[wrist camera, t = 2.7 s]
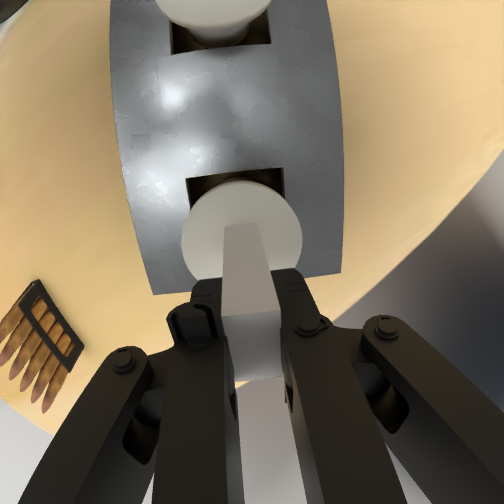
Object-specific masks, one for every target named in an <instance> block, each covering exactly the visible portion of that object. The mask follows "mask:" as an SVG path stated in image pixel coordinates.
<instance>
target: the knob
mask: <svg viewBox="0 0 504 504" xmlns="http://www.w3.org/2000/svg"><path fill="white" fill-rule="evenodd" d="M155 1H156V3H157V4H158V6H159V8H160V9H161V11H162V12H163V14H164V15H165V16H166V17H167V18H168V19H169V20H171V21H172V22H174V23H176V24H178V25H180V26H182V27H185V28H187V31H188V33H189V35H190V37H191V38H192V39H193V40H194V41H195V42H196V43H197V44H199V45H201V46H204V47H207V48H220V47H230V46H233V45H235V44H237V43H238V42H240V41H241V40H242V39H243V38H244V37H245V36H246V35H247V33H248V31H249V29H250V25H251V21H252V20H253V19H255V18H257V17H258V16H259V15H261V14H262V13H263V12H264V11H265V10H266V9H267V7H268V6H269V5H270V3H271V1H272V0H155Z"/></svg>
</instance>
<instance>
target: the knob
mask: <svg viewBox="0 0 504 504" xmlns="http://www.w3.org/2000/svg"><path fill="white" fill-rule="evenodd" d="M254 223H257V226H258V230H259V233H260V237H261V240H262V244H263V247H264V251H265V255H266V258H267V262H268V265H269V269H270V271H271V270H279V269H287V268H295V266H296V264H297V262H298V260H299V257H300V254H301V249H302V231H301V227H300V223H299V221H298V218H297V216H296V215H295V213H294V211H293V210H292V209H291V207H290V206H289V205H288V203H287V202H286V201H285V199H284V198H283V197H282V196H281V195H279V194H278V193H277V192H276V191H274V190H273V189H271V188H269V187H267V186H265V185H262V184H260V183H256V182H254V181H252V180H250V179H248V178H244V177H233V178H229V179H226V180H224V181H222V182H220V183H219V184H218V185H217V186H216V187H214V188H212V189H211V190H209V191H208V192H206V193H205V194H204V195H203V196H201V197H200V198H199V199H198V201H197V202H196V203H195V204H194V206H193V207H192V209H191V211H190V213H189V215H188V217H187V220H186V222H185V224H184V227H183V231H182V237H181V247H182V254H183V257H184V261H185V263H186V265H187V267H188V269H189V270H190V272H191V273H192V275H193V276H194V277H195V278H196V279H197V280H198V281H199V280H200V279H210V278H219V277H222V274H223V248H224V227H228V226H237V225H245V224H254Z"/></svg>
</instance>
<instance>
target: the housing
mask: <svg viewBox="0 0 504 504" xmlns="http://www.w3.org/2000/svg"><path fill="white" fill-rule="evenodd" d="M265 18H266V26H267V33H268V42H269V44H260V45H242V46H230V47H220V48H212V49H205V50H198V51H192V52H186V53H180V54H175V55H174V50H173V34H172V21H171V20H169V19H168V18H167V17H166V16H165V15H164V14H163V12H162V11H161V9H160V8H159V6H158V4H157V3H156V1H155V0H111V6H110V70H111V86H112V98H113V109H114V118H115V126H116V134H117V141H118V148H119V155H120V161H121V167H122V172H123V178H124V183H125V188H126V193H127V198H128V203H129V207H130V212H131V216H132V220H133V224H134V229H135V233H136V237H137V241H138V244H139V248H140V252H141V255H142V259H143V263H144V266H145V270H146V273H147V276H148V280H149V283H150V286H151V289H152V292H153V295H159V294H170V293H180V292H191V291H192V288H193V286H194V285H195V284H196V283H197V282H198V280H197V279H196V278H195V277H194V276H193V275H192V273H191V272H190V270H189V269H188V267H187V265H186V263H185V261H184V257H183V254H182V247H181V237H182V231H183V227H184V224H185V222H186V220H187V217H188V215H189V213H190V211H191V209H192V202H191V196H190V189H189V183H188V178H191V177H198V176H205V175H212V174H220V173H228V172H237V171H246V170H256V169H267V168H279V167H280V168H281V183H282V197H283V198H284V199H285V201H286V202H287V203H288V205H289V206H290V207H291V209H292V210H293V211H294V213H295V215H296V216H297V218H298V221H299V223H300V227H301V231H302V249H301V254H300V257H299V260H298V262H297V264H296V266H295V268H294V269H296V270H297V271H298V272H300V273H301V274H302V275H303V278H309V277H316V276H323V275H330V274H337V273H341V262H342V245H343V219H344V156H343V131H342V115H341V101H340V90H339V80H338V71H337V63H336V55H335V48H334V41H333V35H332V28H331V23H330V17H329V12H328V7H327V2H326V0H272V1H271V3H270V5H269V6H268V7H267V9H266V10H265Z"/></svg>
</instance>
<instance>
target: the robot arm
mask: <svg viewBox="0 0 504 504" xmlns="http://www.w3.org/2000/svg"><path fill="white" fill-rule="evenodd" d="M26 1H27V0H0V23H1V22H3V21H4V20H6V19H7V18H8V17H9V16H11V15H12V14H13V13H14V12H15V11H17V10H18V9H19V8H20V7H21V6H22V5H23V4H24V3H25V2H26ZM166 320H167V323H168V326H169V329H170V332H171V335H172V338H173V340H174V346H173V347H171V348H169V349H167V350H165V351H162V352H159V353H155V354H152V355H148V356H147V355H146V353H145V352H144V351H143V350H142V349H140V348H138V347H135V346H126V347H122V348H118V349H117V350H115V351H113V352H111V353H110V354H109V355H108V356H107V357H106V358H105V360H104V361H103V363H102V364H101V366H100V367H99V368H98V370H97V371H96V373H95V374H94V376H93V377H92V379H91V380H90V382H89V383H88V385H87V386H86V388H85V389H84V391H83V392H82V394H81V395H80V397H79V398H78V400H77V401H76V403H75V404H74V406H73V407H72V409H71V411H70V412H69V414H68V415H67V417H66V419H65V420H64V422H63V423H62V425H61V427H60V428H59V430H58V431H57V433H56V435H55V436H54V438H53V440H52V441H51V443H50V445H49V447H48V448H47V450H46V452H45V453H44V455H43V457H42V459H41V460H40V462H39V464H38V466H37V468H36V469H35V471H34V473H33V475H32V477H31V479H30V481H29V483H28V485H27V486H26V488H25V490H24V492H23V494H22V496H21V498H20V500H19V502H18V504H142V502H143V499H144V497H145V494H146V492H147V489H148V486H149V484H150V482H151V479H152V476H153V474H154V481H153V493H152V504H245V501H244V489H243V478H242V464H241V451H240V436H239V421H238V405H237V394H236V390H235V382H239V381H249V380H257V379H266V378H273V377H280V376H283V374H284V379H285V403H288V408H289V413H290V418H291V423H292V428H293V433H294V438H295V443H296V448H297V454H298V459H299V464H300V469H301V474H302V479H303V484H304V489H305V494H306V499H307V504H407V501H406V498H405V495H404V493H403V489H402V487H401V484H400V481H399V479H398V476H397V473H396V470H395V468H394V465H393V462H392V460H391V457H390V455H389V452H388V450H387V447H386V444H387V446H388V447H389V448H390V450H391V451H392V452H393V454H394V455H395V456H396V457H397V459H398V460H399V461H400V463H401V464H402V465H403V467H404V468H405V469H406V470H407V472H408V473H409V474H410V476H411V477H412V478H413V480H414V481H415V482H416V484H417V485H418V486H419V487H420V489H421V490H422V491H423V492H424V494H425V495H426V497H427V498H428V499H429V500H430V501H431V503H432V504H504V413H503V412H502V411H501V410H500V409H499V408H498V407H497V406H496V405H495V404H494V403H493V402H492V401H491V400H490V399H489V398H488V397H487V396H486V395H485V394H484V393H483V392H482V391H480V389H478V388H477V387H476V386H475V385H474V384H473V383H472V382H471V381H470V380H469V379H468V378H467V377H466V376H465V375H464V374H463V373H461V372H460V371H459V370H458V369H457V368H456V367H455V366H454V365H453V364H452V363H450V362H449V361H448V360H447V359H446V358H445V357H444V356H443V355H442V354H440V353H439V352H438V351H437V350H436V349H435V348H434V347H432V346H431V345H430V344H429V343H428V342H427V341H426V340H425V339H424V338H422V337H421V336H420V335H419V334H418V333H416V332H415V331H414V330H413V329H412V328H411V327H410V326H408V325H407V324H406V323H405V322H404V321H402V320H400V319H399V318H397V317H393V316H390V315H378V316H374V317H372V318H370V319H369V320H367V321H366V323H365V325H364V326H363V329H347V328H340V327H336V326H333V324H332V322H331V321H330V320H329V319H328V318H327V317H325V316H323V315H321V314H320V312H319V310H318V308H317V306H316V304H315V301H314V299H313V297H312V295H311V293H310V290H309V289H308V286H307V284H306V283H305V280H304V278H303V275H302V274H301V273H300V272H298V271H297V270H296V269H294V268H287V269H279V270H271V271H270V269H269V265H268V262H267V258H266V255H265V251H264V247H263V244H262V240H261V237H260V233H259V230H258V226H257V223H254V224H245V225H237V226H228V227H224V248H223V274H222V277H219V278H210V279H200V280H199V281H198V282H197V283H196V284H195V285H194V286H193V288H192V293H191V298H190V302H187V303H184V304H181V305H179V306H177V307H175V308H174V309H173V310H172V311H171V312H169V314H168V316H167V318H166ZM234 378H235V381H234ZM385 443H386V444H385Z"/></svg>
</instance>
